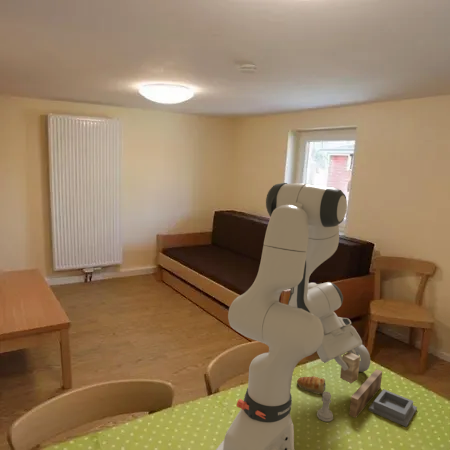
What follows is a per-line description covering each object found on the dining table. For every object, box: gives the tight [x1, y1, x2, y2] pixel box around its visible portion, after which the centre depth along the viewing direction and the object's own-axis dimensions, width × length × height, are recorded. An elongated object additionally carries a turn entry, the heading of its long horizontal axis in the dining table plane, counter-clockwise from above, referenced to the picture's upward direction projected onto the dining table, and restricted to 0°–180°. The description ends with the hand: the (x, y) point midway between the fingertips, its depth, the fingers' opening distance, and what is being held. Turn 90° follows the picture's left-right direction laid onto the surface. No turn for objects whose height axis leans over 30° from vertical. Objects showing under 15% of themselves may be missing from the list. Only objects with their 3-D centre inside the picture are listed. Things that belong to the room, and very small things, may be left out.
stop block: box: [340, 352, 361, 384], centre depth 123 cm, size 4×4×8 cm
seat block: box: [368, 389, 418, 428], centre depth 116 cm, size 11×11×3 cm
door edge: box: [348, 369, 383, 419], centre depth 121 cm, size 22×2×6 cm, turn 139°
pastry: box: [296, 375, 326, 395], centre depth 127 cm, size 9×7×4 cm
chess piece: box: [316, 391, 334, 423], centre depth 111 cm, size 5×5×8 cm
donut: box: [354, 344, 371, 373], centre depth 139 cm, size 10×4×10 cm, turn 16°
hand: (352, 366), depth 123 cm, fingers closed on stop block, 4 cm apart
